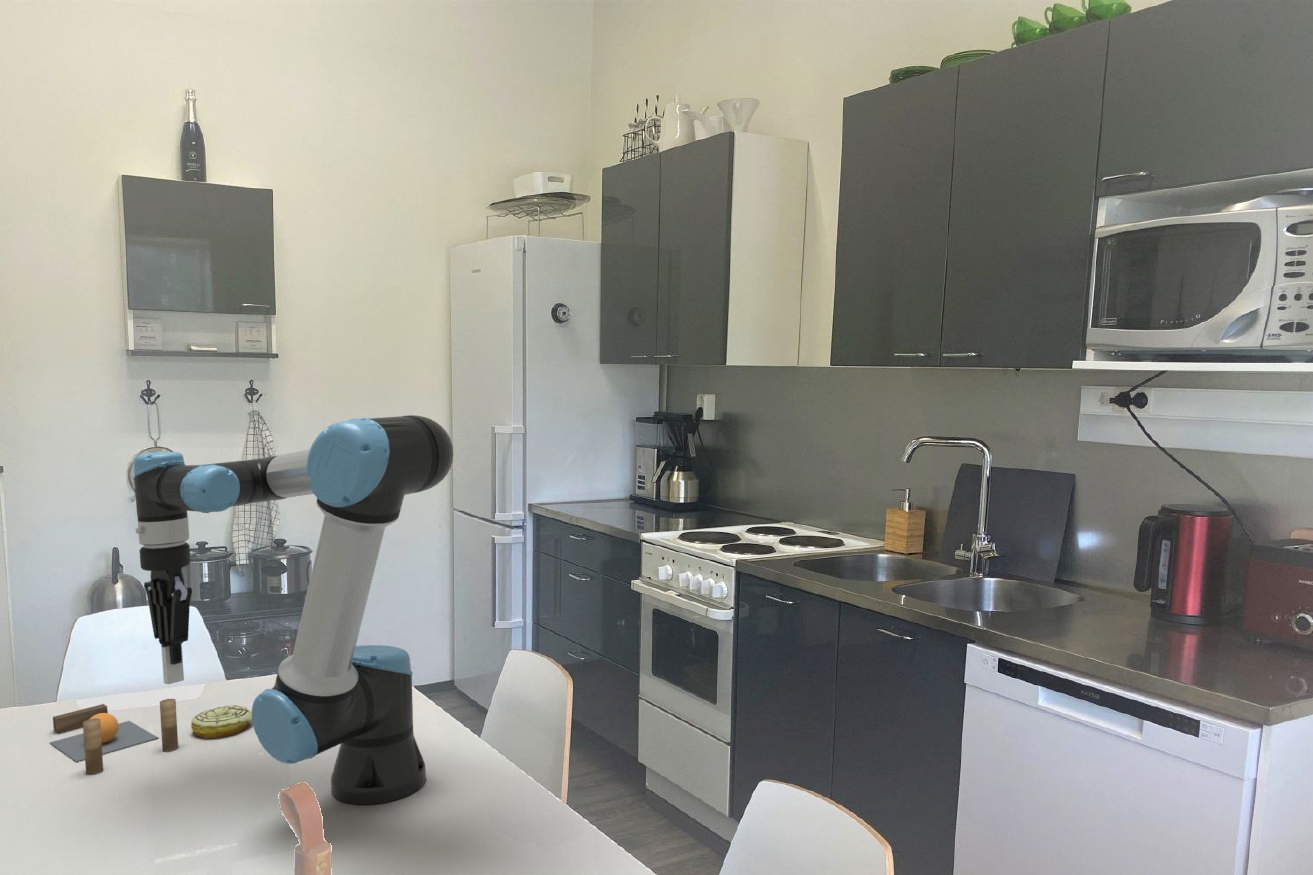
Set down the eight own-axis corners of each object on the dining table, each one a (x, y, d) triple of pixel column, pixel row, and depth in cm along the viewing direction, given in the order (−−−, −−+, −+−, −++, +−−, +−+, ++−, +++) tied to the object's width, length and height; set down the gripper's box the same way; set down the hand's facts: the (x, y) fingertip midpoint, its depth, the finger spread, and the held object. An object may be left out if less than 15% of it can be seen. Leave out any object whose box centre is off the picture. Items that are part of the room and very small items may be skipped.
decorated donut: (264, 725, 187) (263, 706, 186) (215, 744, 177) (214, 725, 177) (229, 716, 192) (229, 698, 191) (180, 735, 182) (179, 715, 182)
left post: (105, 770, 166) (102, 720, 165) (89, 775, 164) (85, 725, 163) (100, 767, 167) (96, 717, 167) (83, 772, 165) (80, 721, 165)
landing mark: (158, 738, 180) (158, 737, 180) (76, 762, 170) (76, 761, 170) (129, 721, 189) (129, 720, 189) (49, 743, 179) (49, 742, 179)
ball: (108, 720, 183) (118, 744, 181) (76, 728, 179) (86, 753, 176) (116, 703, 180) (126, 728, 178) (84, 711, 176) (93, 737, 174)
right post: (180, 748, 175) (177, 700, 175) (165, 752, 173) (163, 704, 173) (174, 744, 177) (172, 697, 176) (160, 749, 175) (157, 701, 174)
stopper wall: (108, 720, 190) (107, 706, 190) (57, 734, 183) (56, 719, 183) (104, 718, 191) (103, 703, 191) (53, 731, 185) (52, 716, 184)
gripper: (124, 544, 161) (134, 680, 162) (158, 551, 153) (168, 694, 154) (170, 537, 167) (179, 669, 168) (204, 543, 158) (214, 682, 160)
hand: (174, 681), depth 161 cm, fingers closed
